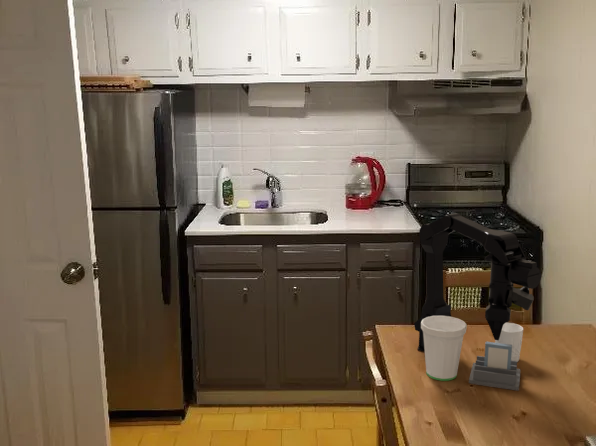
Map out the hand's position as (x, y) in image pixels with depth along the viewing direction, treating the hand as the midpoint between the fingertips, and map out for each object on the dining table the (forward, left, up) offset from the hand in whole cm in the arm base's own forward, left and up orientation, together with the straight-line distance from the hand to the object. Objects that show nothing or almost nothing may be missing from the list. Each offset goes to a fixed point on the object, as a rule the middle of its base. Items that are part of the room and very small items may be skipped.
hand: (497, 333), depth 177 cm
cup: (-14, -3, -13) cm, 20 cm away
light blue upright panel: (0, 0, -12) cm, 12 cm away
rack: (0, 0, -13) cm, 13 cm away
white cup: (+2, +15, -13) cm, 20 cm away
